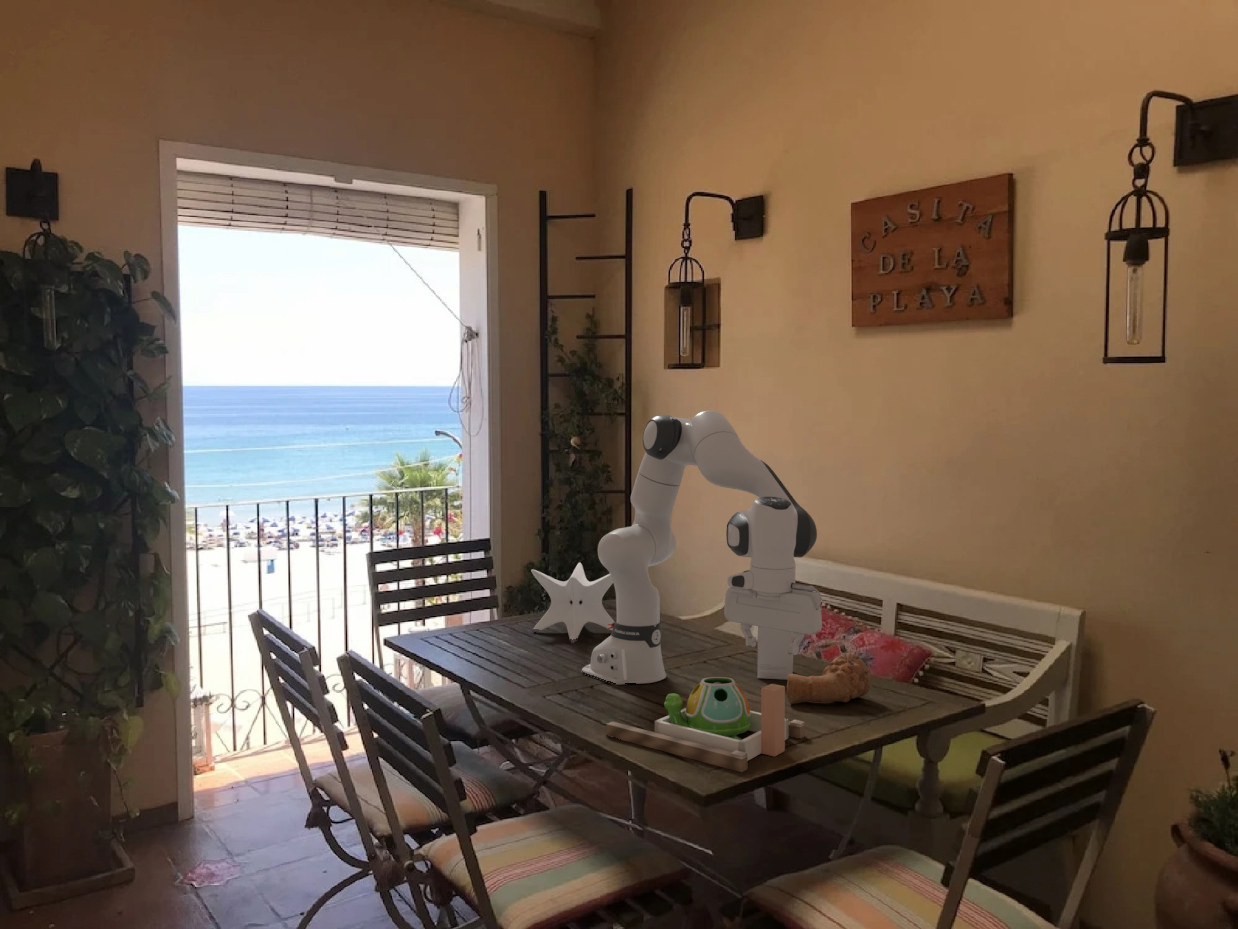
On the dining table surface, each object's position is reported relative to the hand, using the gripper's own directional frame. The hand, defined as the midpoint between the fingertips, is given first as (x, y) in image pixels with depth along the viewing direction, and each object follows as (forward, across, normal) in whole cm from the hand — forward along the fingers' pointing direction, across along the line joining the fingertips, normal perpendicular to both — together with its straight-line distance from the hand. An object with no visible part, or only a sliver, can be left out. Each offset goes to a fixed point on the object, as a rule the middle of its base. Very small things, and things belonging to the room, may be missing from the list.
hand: (771, 650), depth 184 cm
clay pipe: (+21, +6, -39) cm, 45 cm away
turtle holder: (+21, +14, 0) cm, 25 cm away
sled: (+21, +10, 0) cm, 23 cm away
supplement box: (+21, +27, -50) cm, 61 cm away
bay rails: (+21, +16, 0) cm, 26 cm away
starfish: (+22, +99, -54) cm, 115 cm away
